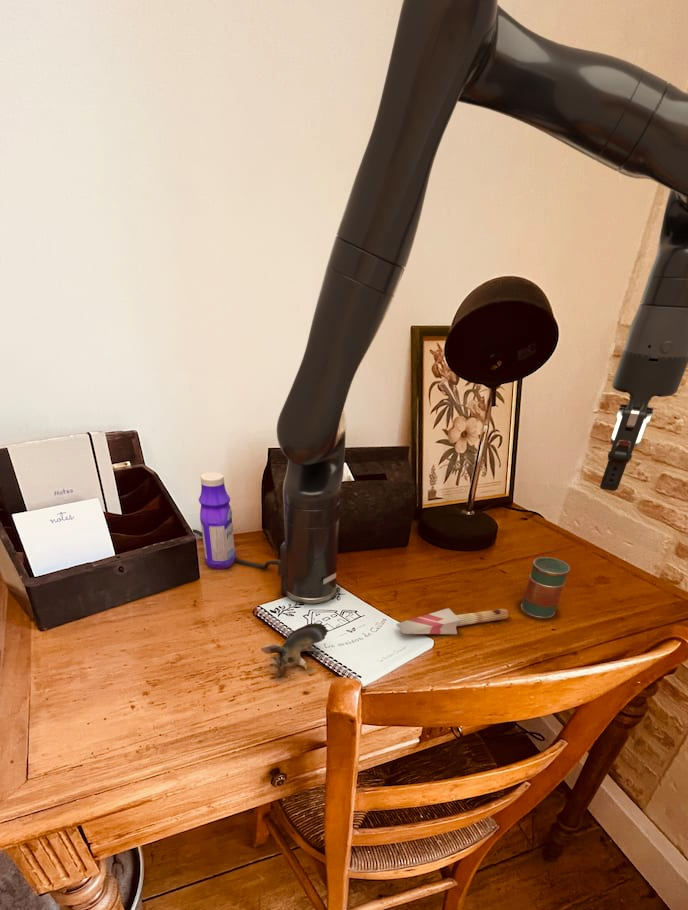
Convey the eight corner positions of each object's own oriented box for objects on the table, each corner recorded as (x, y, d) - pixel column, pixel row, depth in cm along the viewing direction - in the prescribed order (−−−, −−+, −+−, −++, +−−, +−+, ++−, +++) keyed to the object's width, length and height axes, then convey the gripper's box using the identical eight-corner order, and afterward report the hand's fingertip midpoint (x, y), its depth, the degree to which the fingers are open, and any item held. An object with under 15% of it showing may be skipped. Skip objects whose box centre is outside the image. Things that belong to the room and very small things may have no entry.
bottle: (232, 572, 100) (224, 482, 90) (202, 571, 100) (191, 481, 90) (238, 554, 106) (231, 469, 96) (210, 553, 106) (200, 468, 96)
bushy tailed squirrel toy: (312, 684, 73) (339, 641, 78) (283, 646, 70) (313, 605, 75) (276, 689, 78) (303, 648, 83) (247, 654, 75) (277, 614, 80)
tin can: (520, 616, 91) (534, 570, 85) (519, 599, 95) (532, 555, 90) (555, 622, 89) (571, 575, 84) (553, 604, 94) (568, 559, 89)
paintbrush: (395, 614, 84) (501, 601, 90) (393, 628, 86) (496, 615, 92) (405, 627, 81) (514, 613, 87) (403, 641, 83) (509, 626, 89)
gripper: (628, 341, 71) (589, 462, 80) (618, 352, 60) (575, 490, 70) (691, 346, 68) (643, 471, 77) (692, 359, 58) (637, 501, 67)
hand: (611, 480), depth 74 cm, fingers open, 8 cm apart
